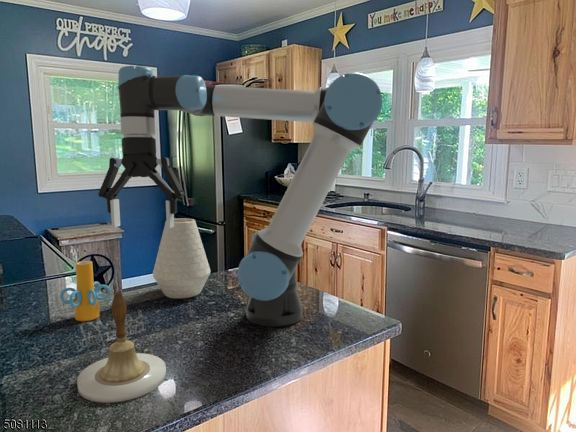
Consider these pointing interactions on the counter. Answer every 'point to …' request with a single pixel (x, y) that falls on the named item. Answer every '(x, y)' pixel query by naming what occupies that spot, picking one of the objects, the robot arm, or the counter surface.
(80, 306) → the cylinder
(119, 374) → the hand bell
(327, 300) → the counter surface
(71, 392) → the counter surface
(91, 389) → the hub plate
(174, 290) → the vase
